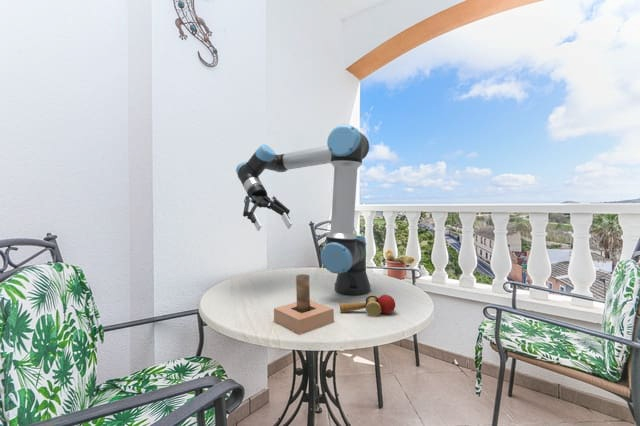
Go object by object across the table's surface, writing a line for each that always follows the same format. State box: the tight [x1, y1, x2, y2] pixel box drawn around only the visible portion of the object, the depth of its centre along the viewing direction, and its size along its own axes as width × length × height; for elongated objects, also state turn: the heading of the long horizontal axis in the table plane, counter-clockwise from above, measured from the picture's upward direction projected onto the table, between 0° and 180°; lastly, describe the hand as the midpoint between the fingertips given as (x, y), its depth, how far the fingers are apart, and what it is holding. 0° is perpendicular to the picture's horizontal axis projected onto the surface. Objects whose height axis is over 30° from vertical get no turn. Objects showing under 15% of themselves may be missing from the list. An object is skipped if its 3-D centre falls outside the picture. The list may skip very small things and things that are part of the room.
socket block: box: [273, 299, 335, 335], centre depth 88 cm, size 13×13×4 cm
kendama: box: [339, 294, 396, 317], centre depth 95 cm, size 8×6×18 cm
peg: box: [295, 273, 311, 313], centre depth 88 cm, size 4×4×14 cm
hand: (275, 227), depth 111 cm, fingers open, 13 cm apart
